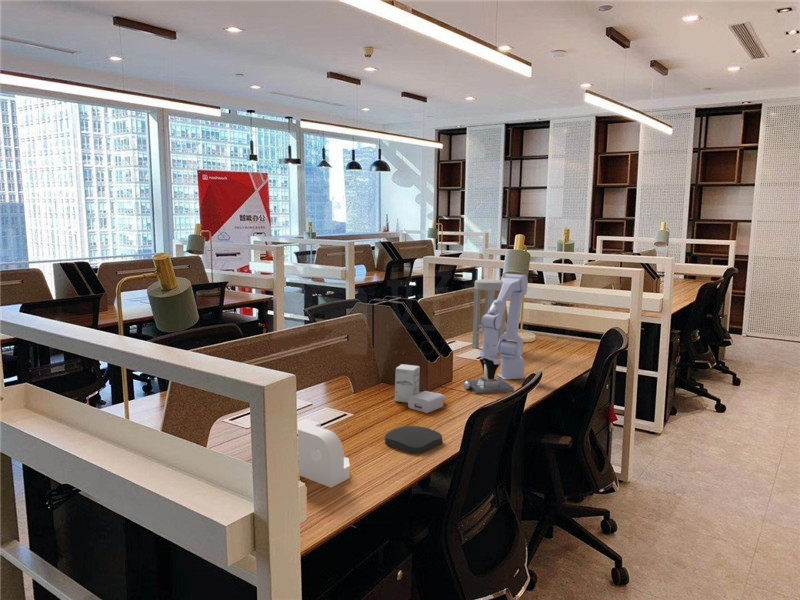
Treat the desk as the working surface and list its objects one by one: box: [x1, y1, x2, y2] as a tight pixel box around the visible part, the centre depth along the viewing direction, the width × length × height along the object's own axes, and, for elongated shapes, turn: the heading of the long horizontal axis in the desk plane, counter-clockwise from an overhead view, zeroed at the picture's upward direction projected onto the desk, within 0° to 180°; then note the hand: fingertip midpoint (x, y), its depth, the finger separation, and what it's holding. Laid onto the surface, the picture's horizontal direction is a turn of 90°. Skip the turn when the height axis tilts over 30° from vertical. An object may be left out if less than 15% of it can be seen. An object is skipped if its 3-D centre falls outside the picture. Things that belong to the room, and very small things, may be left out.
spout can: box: [483, 361, 493, 382], centre depth 237 cm, size 4×4×9 cm
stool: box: [471, 278, 506, 349], centre depth 306 cm, size 16×16×35 cm
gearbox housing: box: [463, 376, 515, 395], centre depth 238 cm, size 18×13×4 cm
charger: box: [407, 390, 447, 414], centre depth 215 cm, size 5×9×15 cm
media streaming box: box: [384, 425, 443, 455], centre depth 181 cm, size 15×15×3 cm
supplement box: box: [394, 363, 421, 404], centre depth 221 cm, size 7×7×13 cm
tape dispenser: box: [297, 418, 351, 488], centre depth 158 cm, size 16×10×13 cm, turn 53°
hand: (488, 377), depth 238 cm, fingers closed on spout can, 3 cm apart
